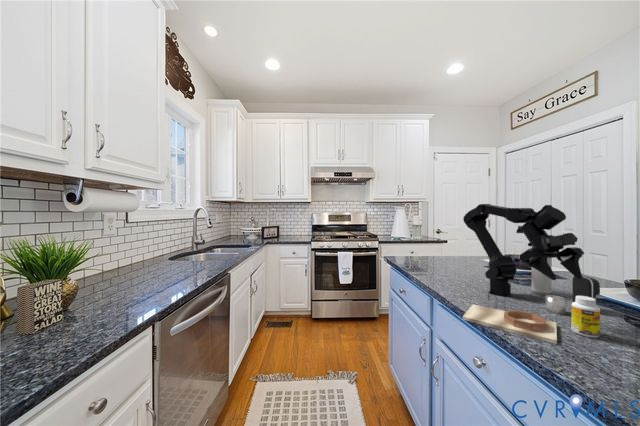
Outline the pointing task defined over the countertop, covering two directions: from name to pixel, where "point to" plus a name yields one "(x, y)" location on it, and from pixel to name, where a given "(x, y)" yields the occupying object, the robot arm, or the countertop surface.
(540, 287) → the travel mug
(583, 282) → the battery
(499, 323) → the holder board
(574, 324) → the supplement bottle
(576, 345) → the countertop surface
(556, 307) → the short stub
